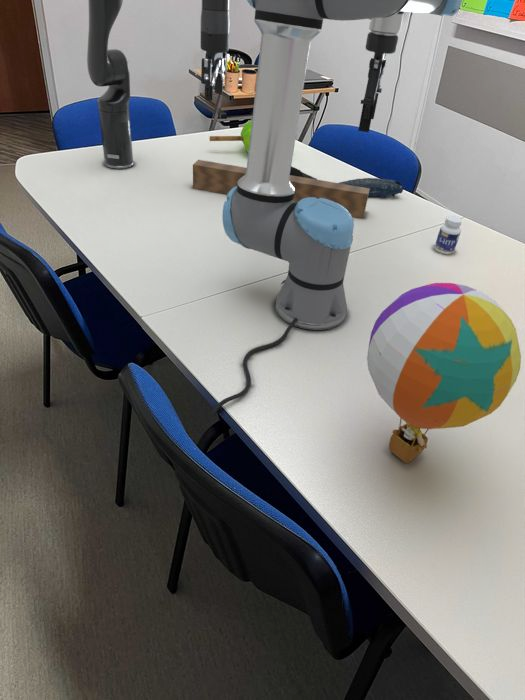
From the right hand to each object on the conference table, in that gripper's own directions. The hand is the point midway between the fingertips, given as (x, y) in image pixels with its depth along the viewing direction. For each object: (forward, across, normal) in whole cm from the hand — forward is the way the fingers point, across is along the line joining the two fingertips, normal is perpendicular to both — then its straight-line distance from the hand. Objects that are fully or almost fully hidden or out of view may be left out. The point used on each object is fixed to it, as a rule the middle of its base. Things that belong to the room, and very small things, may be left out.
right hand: (366, 124), depth 139 cm
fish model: (+25, -18, +4) cm, 31 cm away
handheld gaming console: (+25, -19, -20) cm, 38 cm away
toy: (+25, +90, +20) cm, 96 cm away
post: (+25, 0, -22) cm, 34 cm away
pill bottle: (+25, +14, +28) cm, 40 cm away
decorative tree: (+25, -38, -42) cm, 62 cm away
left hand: (-1, 0, -43) cm, 43 cm away
